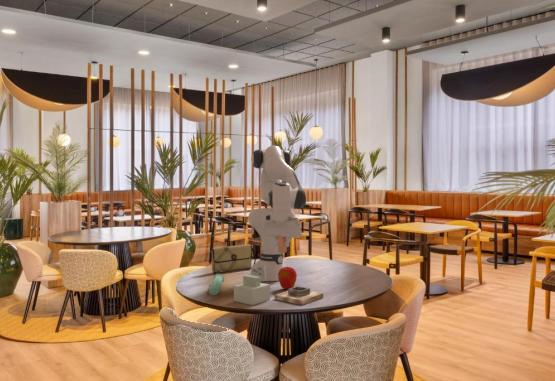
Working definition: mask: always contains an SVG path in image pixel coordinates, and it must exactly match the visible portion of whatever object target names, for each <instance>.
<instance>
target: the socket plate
mask: <svg viewBox="0 0 555 381" xmlns="http://www.w3.org/2000/svg"><path fill="white" fill-rule="evenodd" d="M323 298H324V293H322V292H319V291H313V290H311V288H310V287H304V286H299V285H297V286H294V287H293V288H290V289H288V290H285V291H283V292H280V293H276V294H274V300H277V301H282V302H286V303H290V304H295V305H300V306H304V305H307V304H309V303H312V302H315V301H317V300H318V301H319V300H320V299H323Z"/></svg>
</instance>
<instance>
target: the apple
mask: <svg viewBox="0 0 555 381" xmlns="http://www.w3.org/2000/svg"><path fill="white" fill-rule="evenodd" d="M297 276H298V275H297V272H296V270H295V269H294V268H293V267H291V266H288V265H286V266H283V268H281V269H280V270H279V273H278V279H279V282H278V283H279V284H280V287H281V288H282V289H283V290H285V291H288V289H290V288H293V287H295V285H296V282H297Z"/></svg>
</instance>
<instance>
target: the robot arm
mask: <svg viewBox="0 0 555 381" xmlns="http://www.w3.org/2000/svg"><path fill="white" fill-rule="evenodd" d="M251 154H252V155H251V157H250V158H251V164H252V166H253V168H255V169H259V170H260V169H261V174H260V198H261V200H262V201H263V202H264V203H266V204H268V206H269V207H267V208H266V207H263V208H262V207H261V208H254V209H252V210H251V211H250V212H249V213H248V216H247V220H248V223H249V225H250V226H251V227H252V228H253V229H255V231H256V232H257V233H258V235H259V238H260V241H261V253H259V254H258V255H257V256H258V257H259V260H258V261H256V262H255V264H254V263H253V264H254V265H253V264H252V265H251V269H250V273H249V274H247V275H252V276H257V277H260V282H278V281H279V279H278V273H279V270H280V269H281V268H283V267H284V264H283V261H284V253H279V252H278V235H280V236H282V237H286V240H287V241H286V243H284V245H285V247H287V248H288V247H289V248H290V243H291V241H292V238H293V239H298V238H301V236H302V227H301V221H300V218H298V217H296V214H295V212H294V211H293V210H301V209H303V208H304V207H305V206H306V205H307V194H306V192H305V191H304V189H303V187H302V185H301V183H300V180H299V178H298V176H297V174H296V171H295V170H294V168H292V167H291V166H290V165H291V163H292V156H291V153H290V151H289V150H287V149H281V147H280V146H277V145H269V146H268V147H267V148H266V149H256V150H254V151H253V152H252V153H251Z"/></svg>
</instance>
